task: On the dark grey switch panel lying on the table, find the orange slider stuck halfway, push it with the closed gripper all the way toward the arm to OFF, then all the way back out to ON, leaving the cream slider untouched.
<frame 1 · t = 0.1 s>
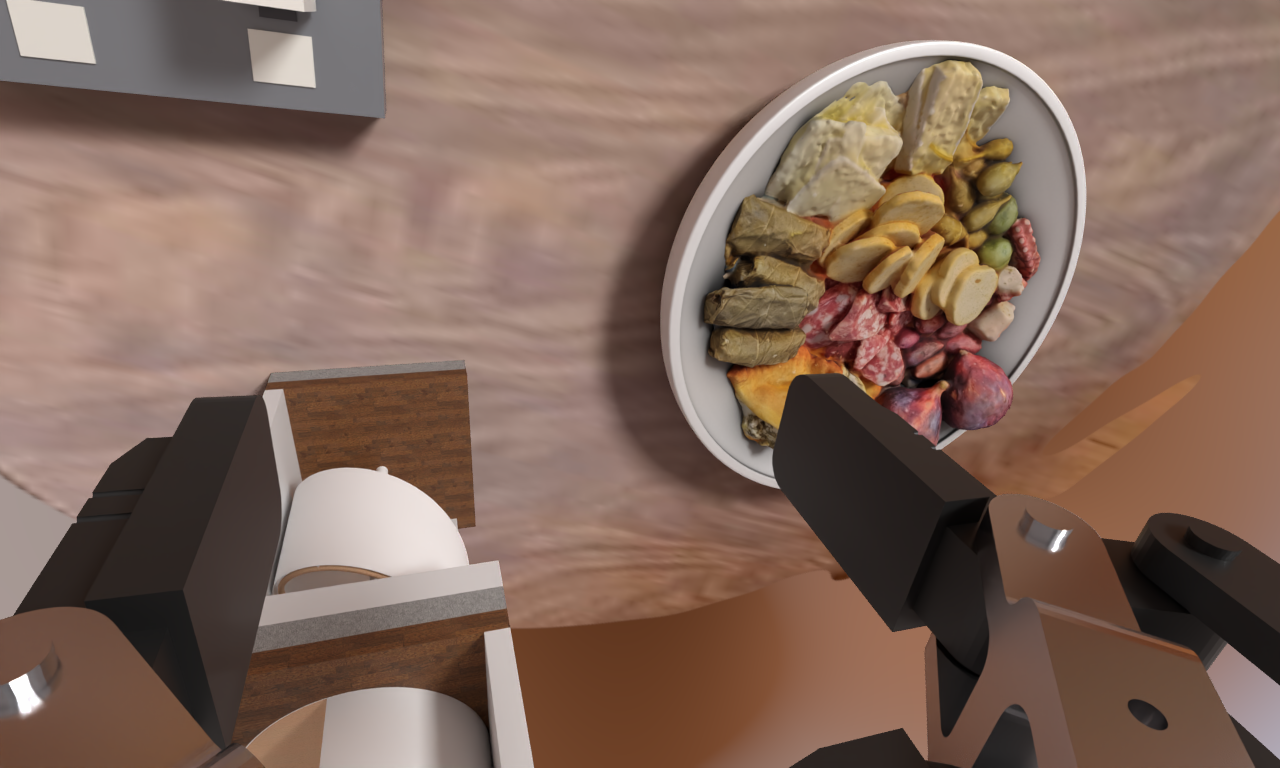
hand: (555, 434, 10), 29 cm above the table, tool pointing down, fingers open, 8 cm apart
bowl: (844, 276, 47), on the table
white upright stand: (382, 445, 42), on the table
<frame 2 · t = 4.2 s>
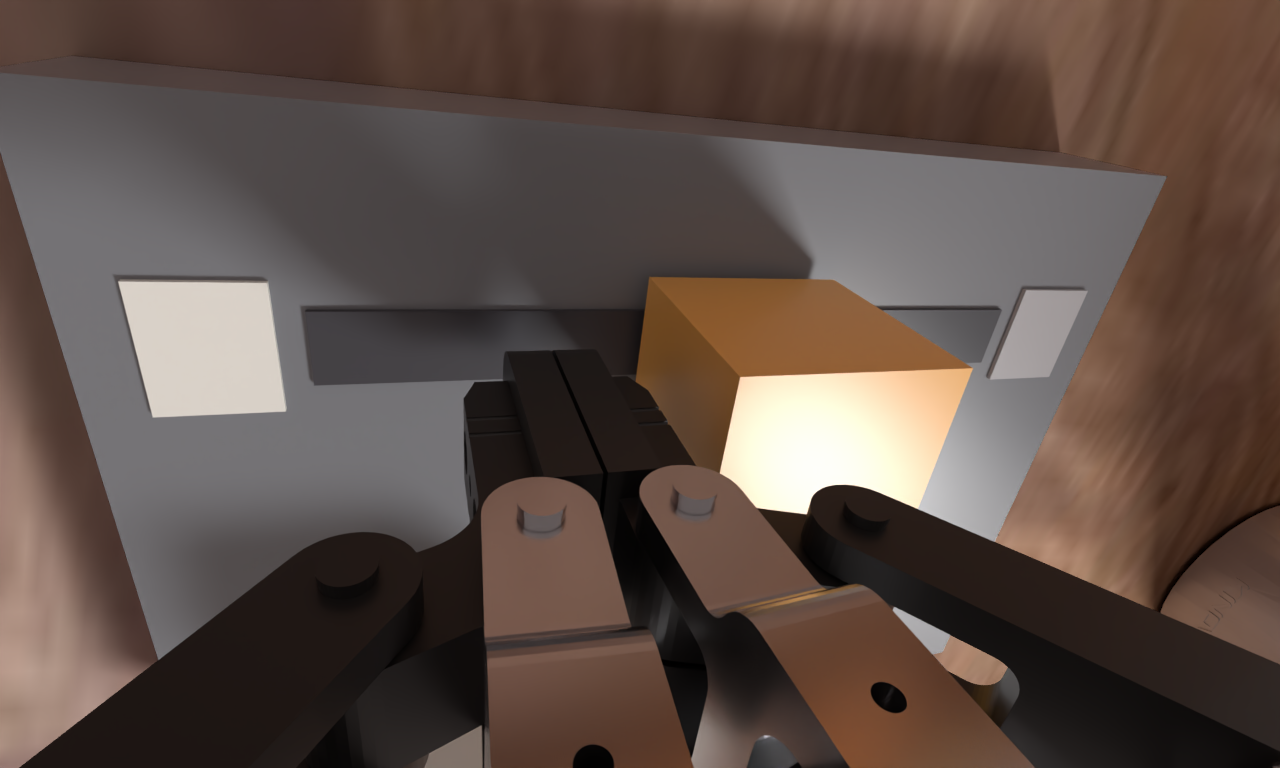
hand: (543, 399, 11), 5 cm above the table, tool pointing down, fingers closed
on slider: (470, 738, 14), point 5 cm above the table, slide at 5.0 cm
switch panel: (641, 427, 18), on the table
tripped slider: (777, 395, 12), point 5 cm above the table, slide at -0.4 cm, touching gripper
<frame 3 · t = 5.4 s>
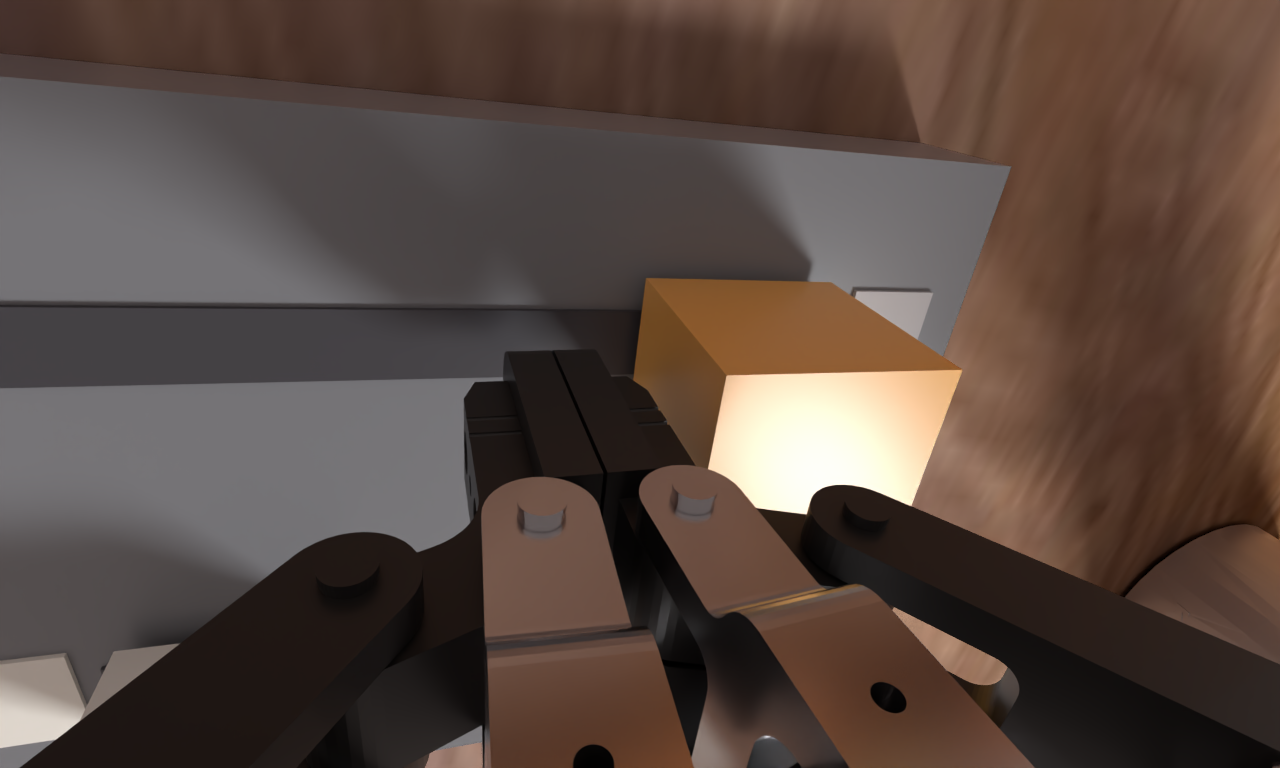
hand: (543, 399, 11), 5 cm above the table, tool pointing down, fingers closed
switch panel: (467, 436, 17), on the table
tripped slider: (771, 395, 12), point 5 cm above the table, slide at -5.1 cm, touching gripper
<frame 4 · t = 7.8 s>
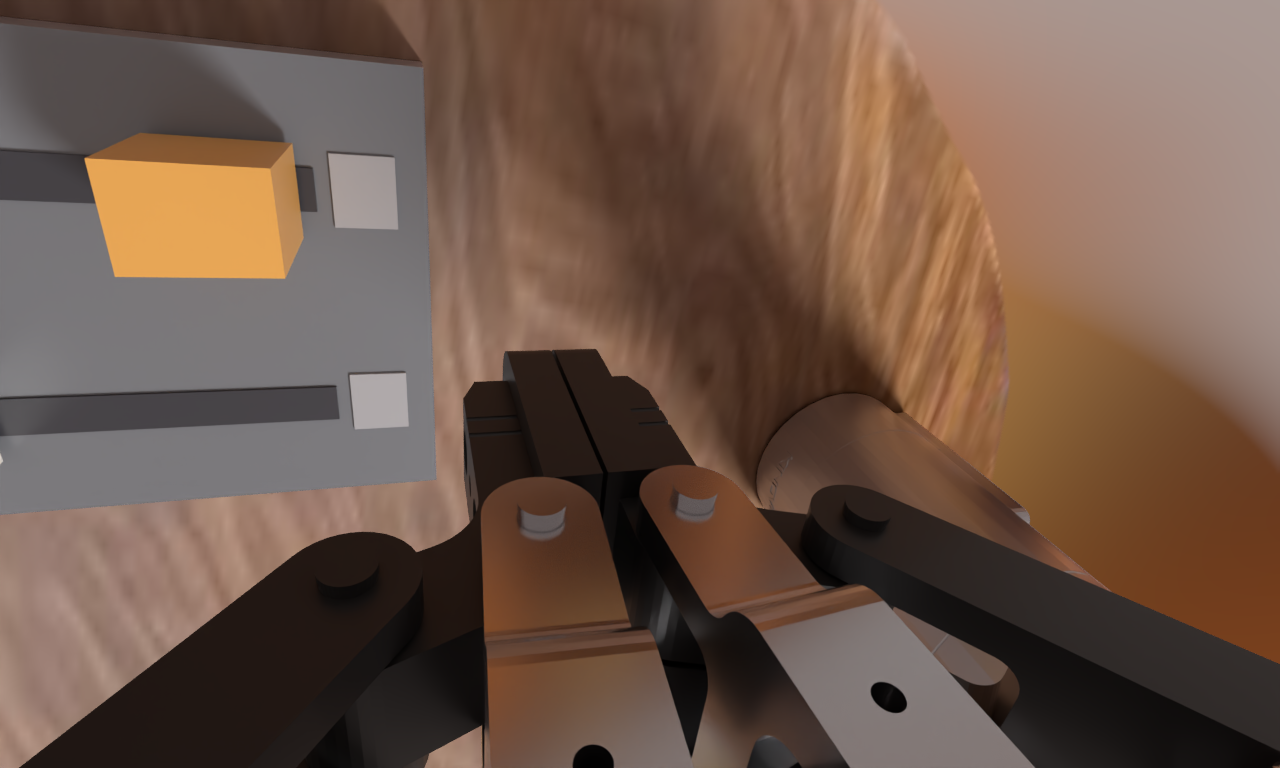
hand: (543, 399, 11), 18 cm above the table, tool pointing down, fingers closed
switch panel: (106, 273, 24), on the table
tripped slider: (211, 204, 19), point 5 cm above the table, slide at -5.0 cm
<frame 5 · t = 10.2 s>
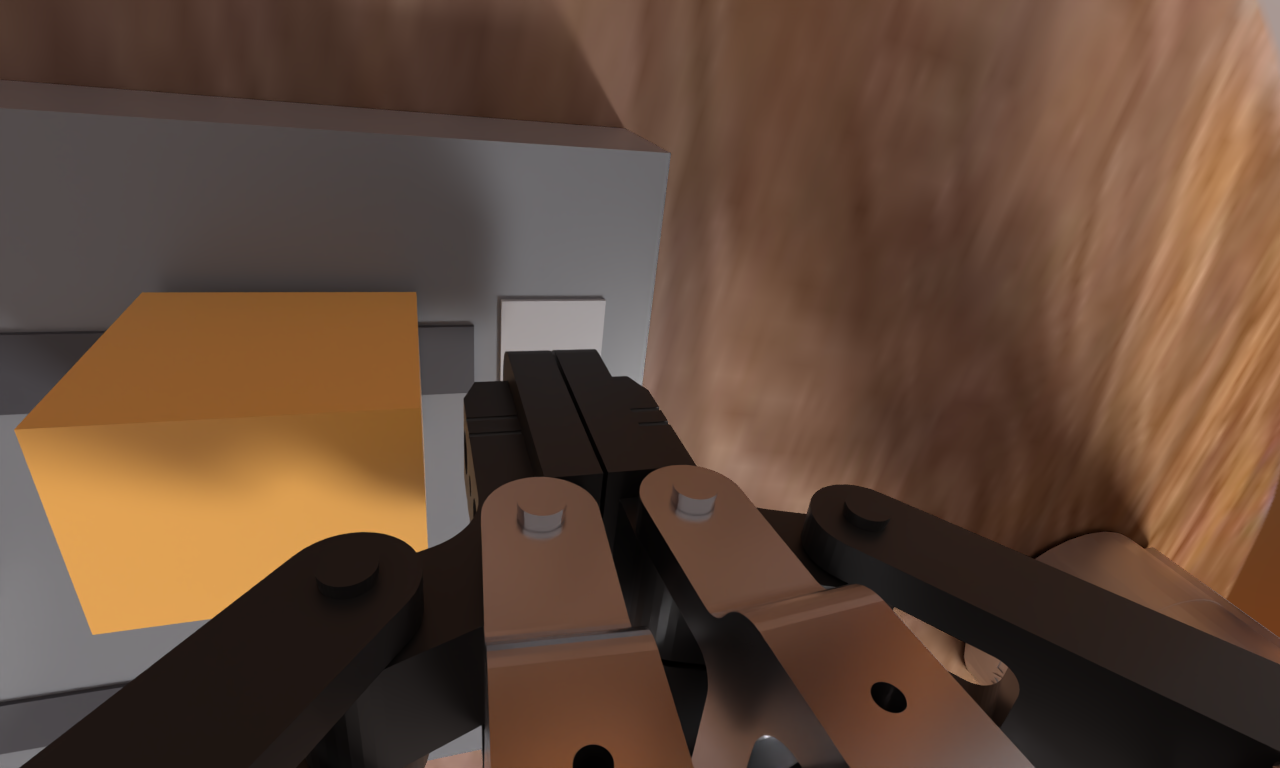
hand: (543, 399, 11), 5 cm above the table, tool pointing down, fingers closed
switch panel: (117, 472, 15), on the table
tripped slider: (280, 435, 10), point 5 cm above the table, slide at -4.5 cm, touching gripper
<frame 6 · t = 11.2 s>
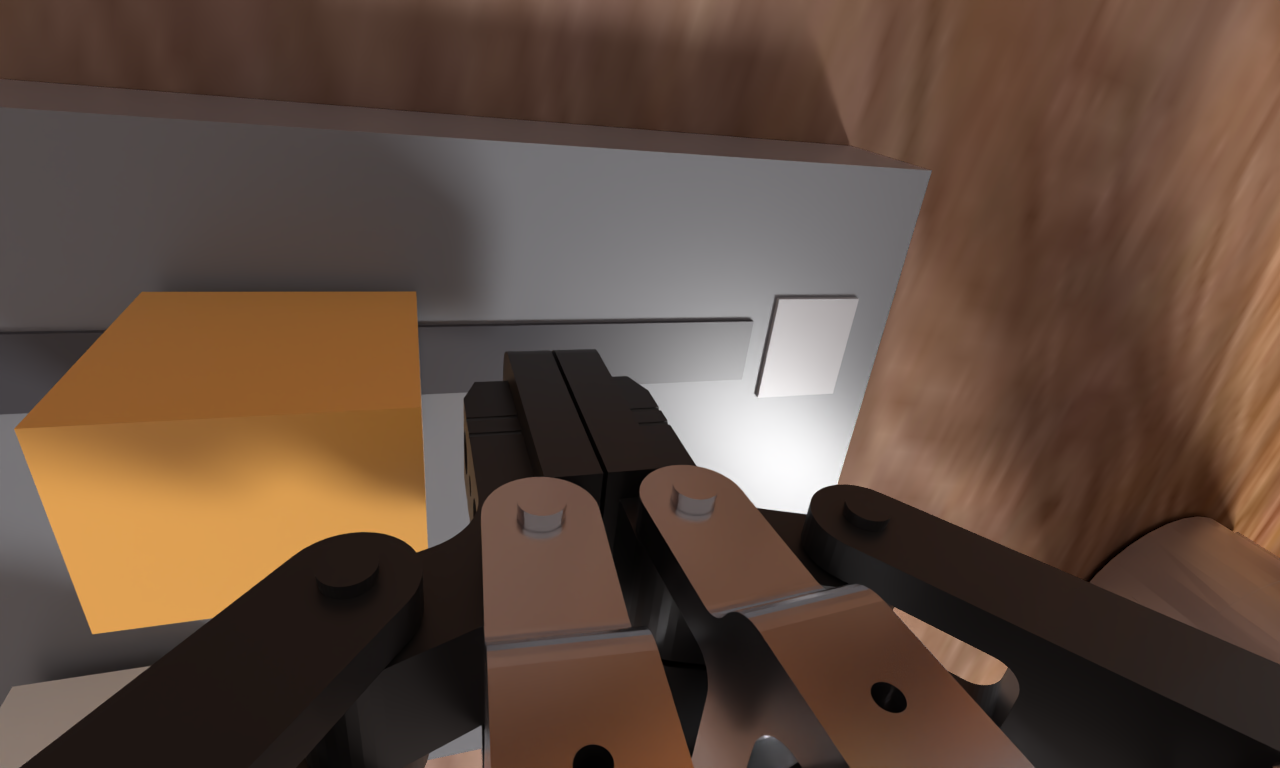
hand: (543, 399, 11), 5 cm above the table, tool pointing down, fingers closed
switch panel: (395, 451, 17), on the table
tripped slider: (280, 435, 10), point 5 cm above the table, slide at 1.3 cm, touching gripper
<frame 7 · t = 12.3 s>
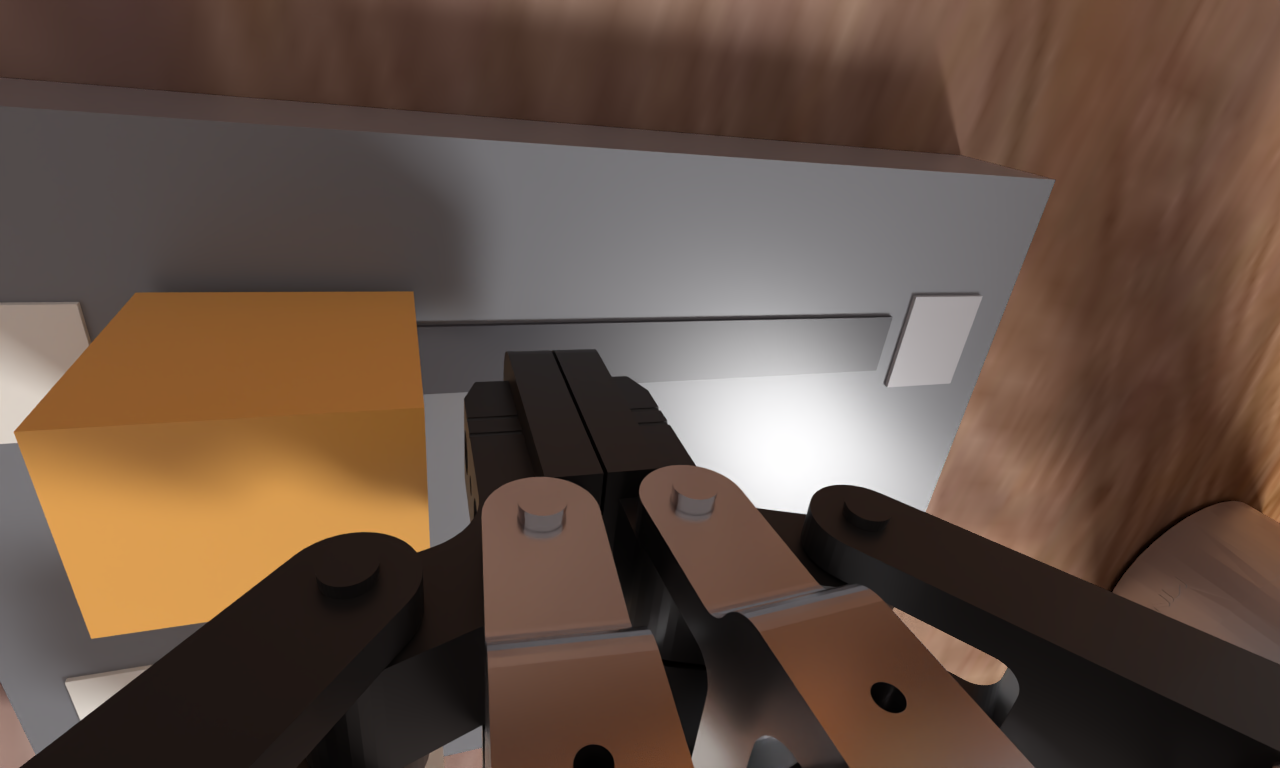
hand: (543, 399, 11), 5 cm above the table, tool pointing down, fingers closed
switch panel: (540, 440, 18), on the table
tripped slider: (279, 436, 10), point 5 cm above the table, slide at 5.1 cm, touching gripper
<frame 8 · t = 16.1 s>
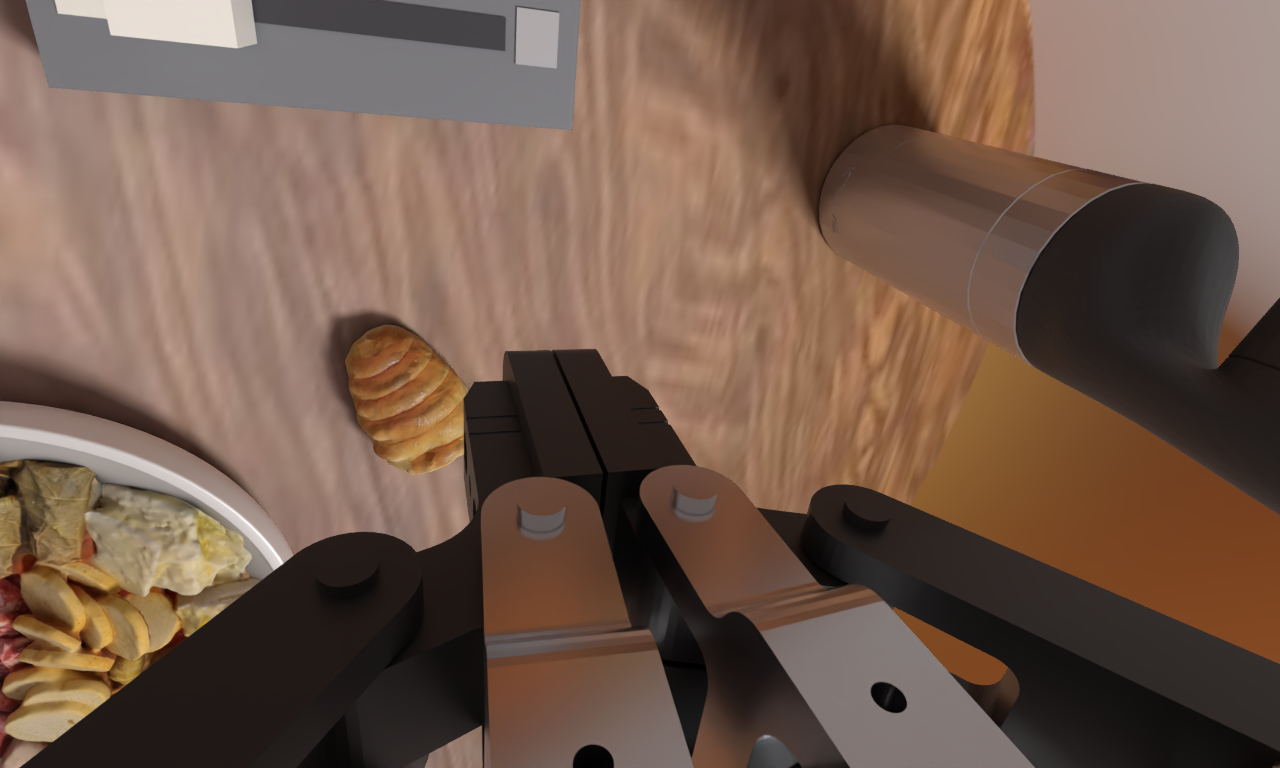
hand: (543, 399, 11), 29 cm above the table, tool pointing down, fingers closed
bowl: (45, 584, 41), on the table
pastry: (410, 394, 42), on the table
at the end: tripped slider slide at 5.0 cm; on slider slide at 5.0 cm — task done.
